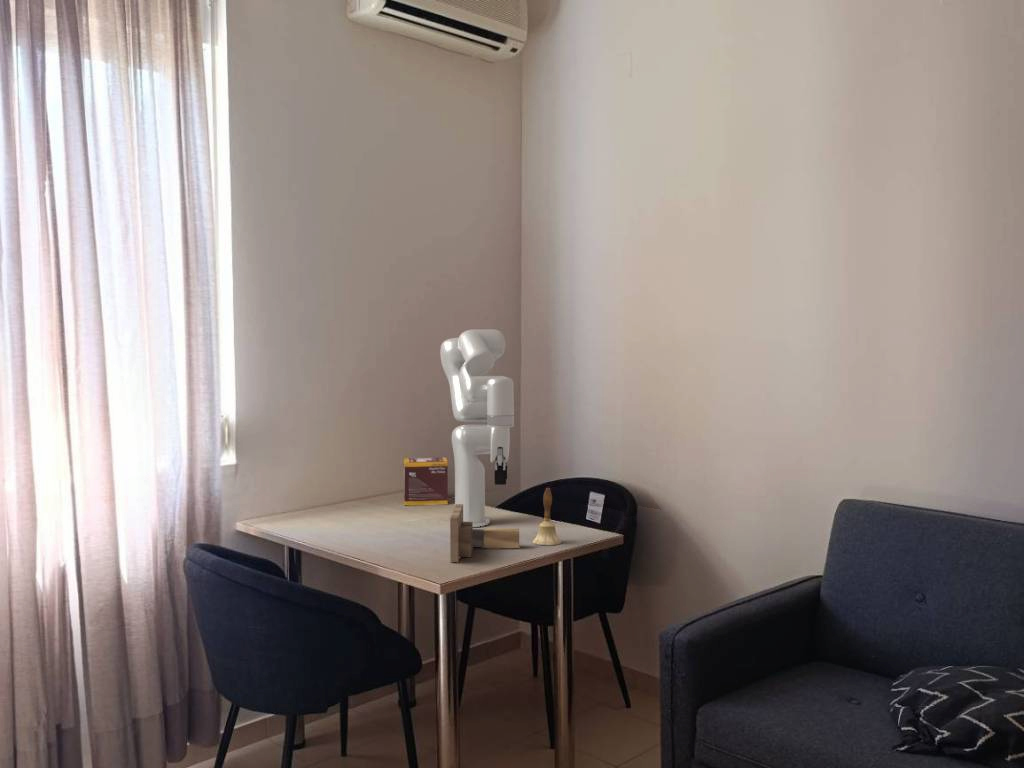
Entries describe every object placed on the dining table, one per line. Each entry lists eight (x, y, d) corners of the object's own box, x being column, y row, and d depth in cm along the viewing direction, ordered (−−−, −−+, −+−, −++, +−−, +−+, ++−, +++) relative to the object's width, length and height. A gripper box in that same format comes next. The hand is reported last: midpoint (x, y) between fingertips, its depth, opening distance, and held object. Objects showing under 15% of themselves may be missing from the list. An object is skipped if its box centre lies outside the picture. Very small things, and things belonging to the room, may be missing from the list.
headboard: (456, 545, 269) (456, 503, 268) (473, 545, 269) (473, 503, 268) (450, 562, 249) (450, 517, 248) (469, 562, 249) (469, 518, 248)
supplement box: (448, 504, 332) (448, 460, 331) (404, 506, 330) (404, 461, 329) (446, 499, 342) (446, 457, 341) (403, 500, 340) (403, 457, 339)
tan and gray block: (470, 545, 269) (470, 528, 268) (519, 545, 268) (519, 528, 268) (469, 548, 265) (469, 531, 265) (519, 548, 265) (519, 531, 265)
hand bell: (541, 538, 278) (541, 484, 277) (566, 541, 274) (566, 487, 273) (527, 543, 271) (527, 488, 270) (552, 547, 267) (552, 491, 266)
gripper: (488, 418, 273) (489, 477, 274) (485, 424, 256) (486, 486, 257) (514, 418, 273) (514, 477, 274) (513, 424, 256) (513, 486, 257)
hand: (501, 481), depth 265 cm, fingers open, 9 cm apart
